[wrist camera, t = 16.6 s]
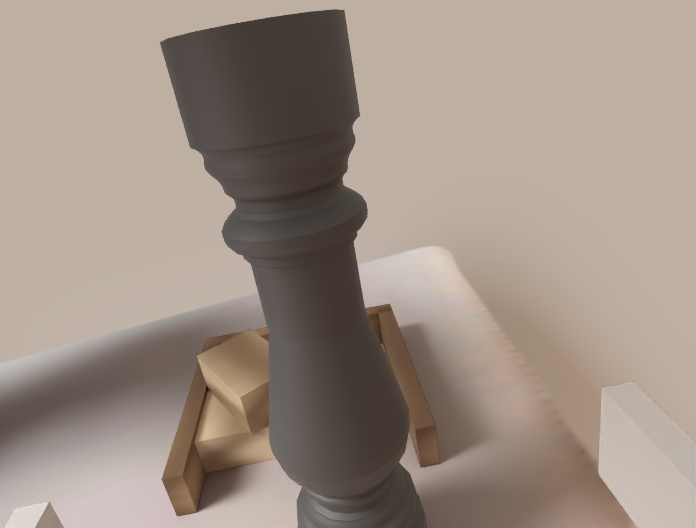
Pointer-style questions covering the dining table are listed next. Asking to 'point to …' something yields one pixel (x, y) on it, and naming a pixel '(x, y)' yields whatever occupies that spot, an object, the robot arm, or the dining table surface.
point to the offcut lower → (228, 439)
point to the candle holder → (302, 254)
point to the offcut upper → (240, 378)
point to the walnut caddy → (184, 458)
